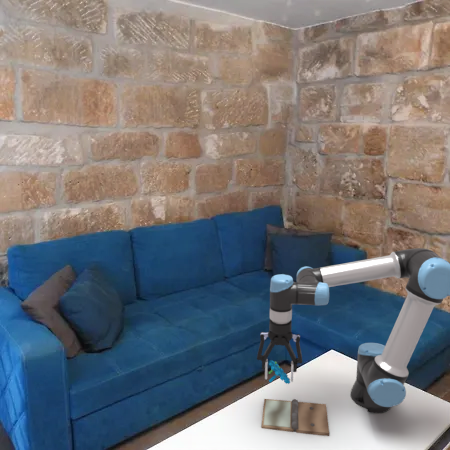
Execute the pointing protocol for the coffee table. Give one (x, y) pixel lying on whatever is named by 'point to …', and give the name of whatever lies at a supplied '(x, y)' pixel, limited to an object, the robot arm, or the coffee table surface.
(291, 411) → the hinge board
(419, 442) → the coffee table surface
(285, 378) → the gear
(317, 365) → the coffee table surface
